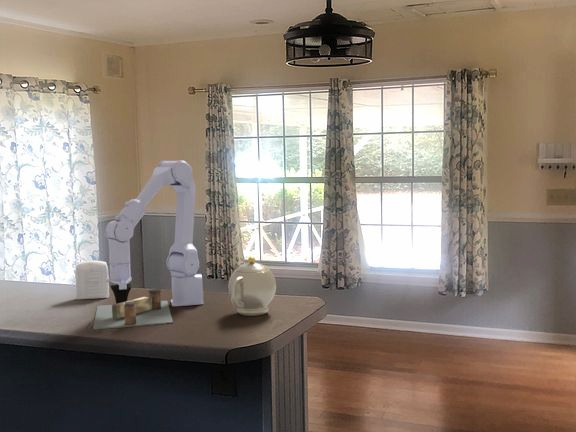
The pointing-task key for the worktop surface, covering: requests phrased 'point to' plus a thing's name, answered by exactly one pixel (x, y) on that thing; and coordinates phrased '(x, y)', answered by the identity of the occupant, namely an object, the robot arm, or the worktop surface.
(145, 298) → the cream long bar
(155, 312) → the mat
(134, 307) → the latch post
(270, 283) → the teapot
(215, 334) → the worktop surface
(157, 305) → the brown grey short cylinder
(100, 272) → the white upright rounded block
